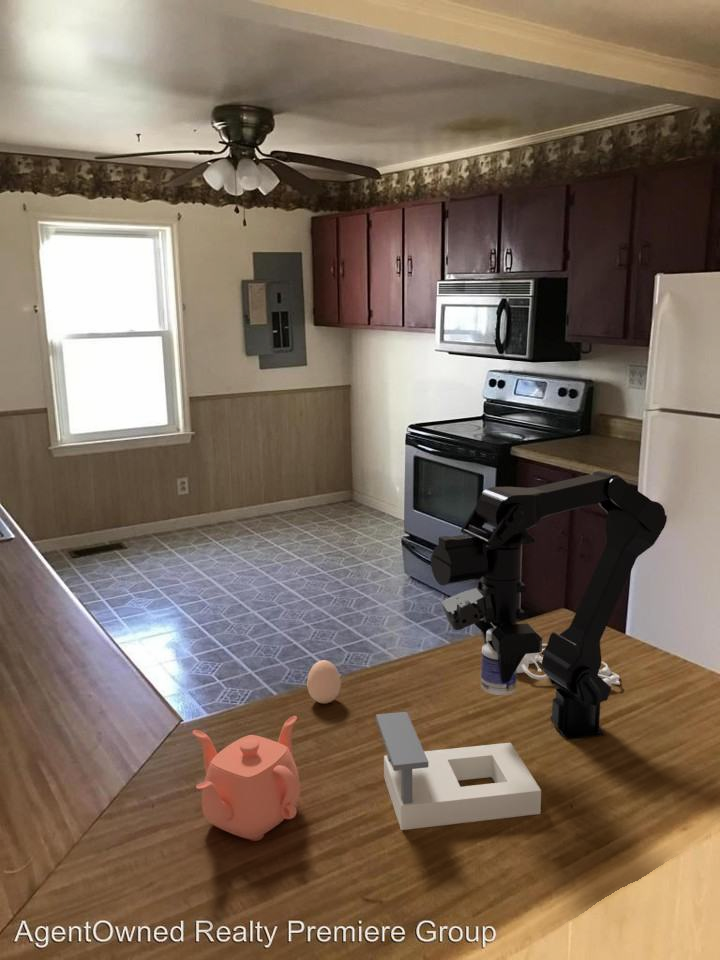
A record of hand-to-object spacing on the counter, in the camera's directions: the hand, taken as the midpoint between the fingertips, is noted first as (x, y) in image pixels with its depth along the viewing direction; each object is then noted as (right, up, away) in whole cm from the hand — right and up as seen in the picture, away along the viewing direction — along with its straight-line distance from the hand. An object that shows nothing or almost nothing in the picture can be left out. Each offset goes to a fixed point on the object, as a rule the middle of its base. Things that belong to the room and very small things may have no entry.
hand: (499, 673), depth 118 cm
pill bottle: (0, -2, +1) cm, 2 cm away
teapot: (-36, -16, -12) cm, 42 cm away
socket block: (-8, -15, -9) cm, 19 cm away
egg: (-27, -10, +18) cm, 34 cm away
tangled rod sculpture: (+17, -7, +28) cm, 33 cm away
